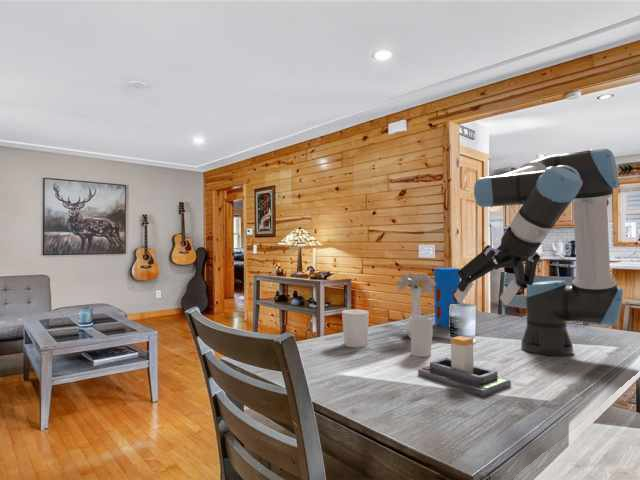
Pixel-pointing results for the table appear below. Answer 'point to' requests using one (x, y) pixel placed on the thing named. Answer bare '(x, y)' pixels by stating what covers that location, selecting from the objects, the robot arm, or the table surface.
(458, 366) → the toggle
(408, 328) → the flower vase
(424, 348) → the mug
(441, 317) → the leaf-print blue block
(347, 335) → the candle holder
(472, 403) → the table surface
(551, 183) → the robot arm
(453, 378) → the dark gray tray
